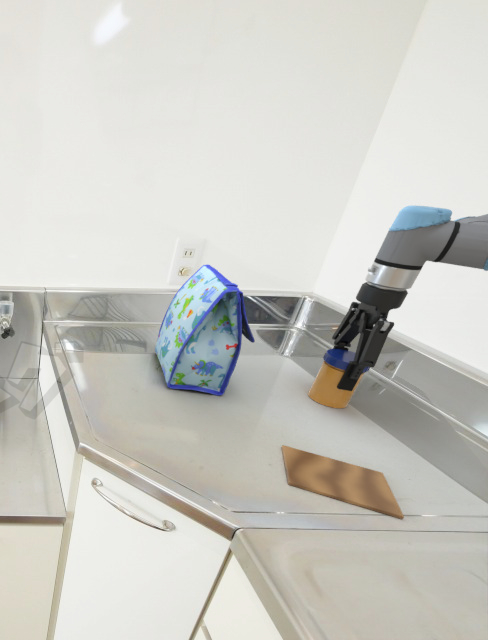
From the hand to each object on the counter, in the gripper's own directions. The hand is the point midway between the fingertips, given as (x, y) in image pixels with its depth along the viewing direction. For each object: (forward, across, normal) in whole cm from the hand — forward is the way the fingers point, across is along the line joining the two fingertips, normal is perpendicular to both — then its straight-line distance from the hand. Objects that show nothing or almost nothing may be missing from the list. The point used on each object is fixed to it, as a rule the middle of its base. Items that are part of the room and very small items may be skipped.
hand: (336, 379), depth 99 cm
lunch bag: (+6, -1, -31) cm, 32 cm away
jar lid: (-6, 0, 0) cm, 6 cm away
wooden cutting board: (+5, +33, -9) cm, 35 cm away
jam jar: (+5, 0, 0) cm, 5 cm away
